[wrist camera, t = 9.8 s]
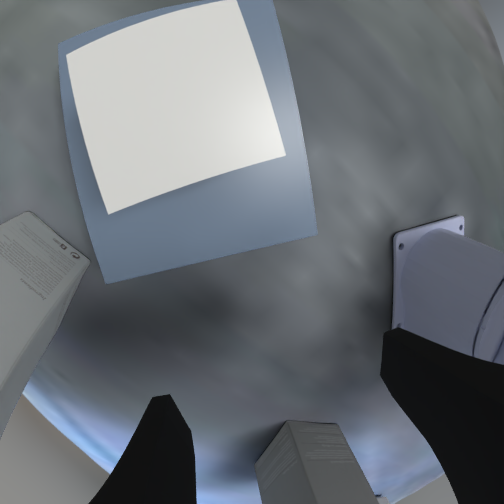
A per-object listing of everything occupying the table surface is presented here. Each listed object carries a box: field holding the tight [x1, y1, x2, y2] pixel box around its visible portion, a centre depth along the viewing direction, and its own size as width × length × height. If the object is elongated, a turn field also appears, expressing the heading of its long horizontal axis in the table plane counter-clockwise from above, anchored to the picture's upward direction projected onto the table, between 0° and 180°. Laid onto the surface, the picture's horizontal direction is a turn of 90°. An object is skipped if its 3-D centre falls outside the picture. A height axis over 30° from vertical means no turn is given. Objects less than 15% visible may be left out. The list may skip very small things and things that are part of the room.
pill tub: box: [66, 0, 286, 215], centre depth 9 cm, size 5×5×6 cm
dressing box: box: [58, 0, 318, 284], centre depth 14 cm, size 13×11×4 cm
